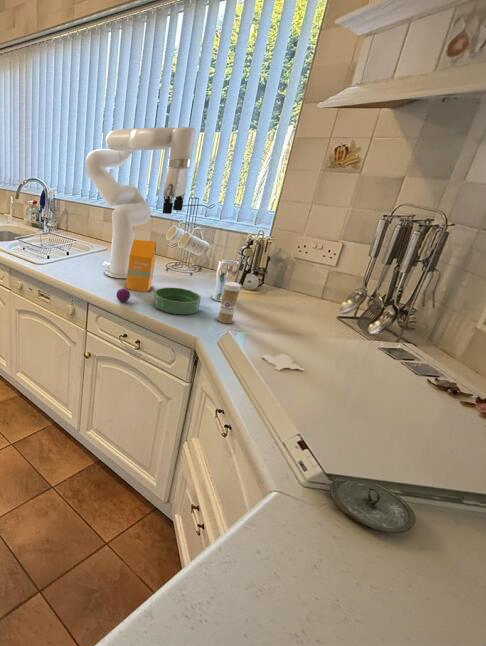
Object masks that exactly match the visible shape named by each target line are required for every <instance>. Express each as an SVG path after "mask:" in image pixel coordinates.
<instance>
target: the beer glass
mask: <svg viewBox="0 0 486 646" xmlns="http://www.w3.org/2000/svg"><path fill="white" fill-rule="evenodd" d="M216 267H217V268H216V271H215V273H216V274H215V288H214V293H213V294H212V299H213V300H214V301H216V302H220V303H221V302H222V297H223V293H224V286H225V283H226V282H235V283H236V280H237V277H238V273H239V268H240V261H237V260H234V259H230V258H229V259H227V258H225V259H224V258H223V259H219V261H218V265H217V266H216Z"/></svg>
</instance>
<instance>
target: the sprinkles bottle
mask: <svg viewBox="0 0 486 646" xmlns="http://www.w3.org/2000/svg"><path fill="white" fill-rule="evenodd" d="M241 287H242V285H241V284H240V283H238V282H236V281H235V282H226V283H225V286H224V293H223V297H222V302H220V307H219V311H218V315H217V321H218V322H219V323H222V324H232V322H233V319H234V314H235V311H236V306H237V302H238V296H239V294H240V291H241Z"/></svg>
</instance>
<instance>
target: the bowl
mask: <svg viewBox="0 0 486 646" xmlns="http://www.w3.org/2000/svg"><path fill="white" fill-rule="evenodd" d="M201 300H202V299H201V295H199V293H197V292H195V291H192V290H191V289H185V288H182V287H181V288H180V287H161V288H158V289H156V290H155V291H154V297H153V306H154V307H155V309H158V310H160V311H162V312H166V313H169V314H175V315H191V314H195V313H197V312H198V311H199V309H200V304H201Z"/></svg>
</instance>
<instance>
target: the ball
mask: <svg viewBox="0 0 486 646" xmlns="http://www.w3.org/2000/svg"><path fill="white" fill-rule="evenodd" d="M115 296H116V298H117V300H118V301H119V302H121V303H122V302H127V301H128V300H129V299H130V298H131V292H130V291H129V289H126V288H120V289H118V290H117V292H116V295H115Z"/></svg>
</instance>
